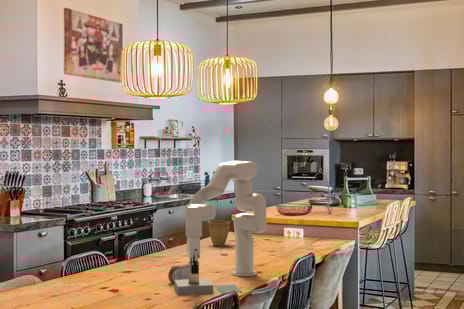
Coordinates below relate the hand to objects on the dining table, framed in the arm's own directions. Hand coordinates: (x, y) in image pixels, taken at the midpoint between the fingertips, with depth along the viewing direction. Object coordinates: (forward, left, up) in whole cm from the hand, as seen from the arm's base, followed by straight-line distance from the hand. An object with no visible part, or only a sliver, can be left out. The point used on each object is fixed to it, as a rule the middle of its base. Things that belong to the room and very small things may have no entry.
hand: (193, 272), depth 281 cm
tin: (-19, -3, -9) cm, 21 cm away
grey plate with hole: (0, 0, -9) cm, 9 cm away
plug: (0, 0, -4) cm, 4 cm away
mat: (0, +16, -9) cm, 18 cm away
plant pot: (-125, +34, -9) cm, 130 cm away
